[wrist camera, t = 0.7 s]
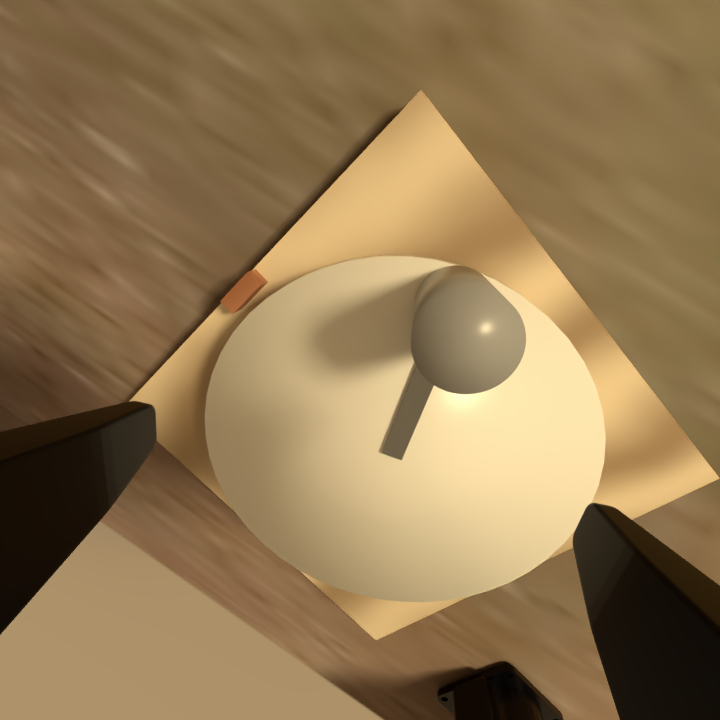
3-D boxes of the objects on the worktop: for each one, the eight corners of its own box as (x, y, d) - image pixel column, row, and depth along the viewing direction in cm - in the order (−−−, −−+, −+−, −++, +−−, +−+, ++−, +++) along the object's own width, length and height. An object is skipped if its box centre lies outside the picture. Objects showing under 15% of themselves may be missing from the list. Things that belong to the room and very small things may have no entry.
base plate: (698, 459, 20) (735, 492, 17) (378, 618, 27) (374, 656, 25) (421, 100, 16) (421, 81, 14) (139, 397, 24) (108, 417, 21)
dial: (489, 619, 23) (512, 759, 17) (197, 513, 24) (121, 613, 18) (680, 335, 16) (833, 407, 10) (256, 192, 17) (164, 180, 11)
